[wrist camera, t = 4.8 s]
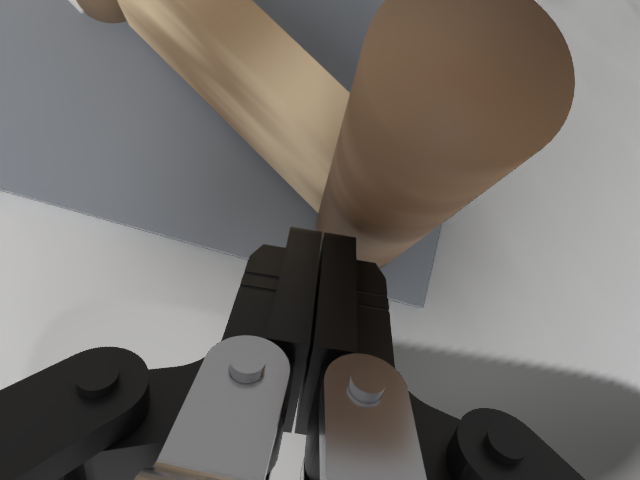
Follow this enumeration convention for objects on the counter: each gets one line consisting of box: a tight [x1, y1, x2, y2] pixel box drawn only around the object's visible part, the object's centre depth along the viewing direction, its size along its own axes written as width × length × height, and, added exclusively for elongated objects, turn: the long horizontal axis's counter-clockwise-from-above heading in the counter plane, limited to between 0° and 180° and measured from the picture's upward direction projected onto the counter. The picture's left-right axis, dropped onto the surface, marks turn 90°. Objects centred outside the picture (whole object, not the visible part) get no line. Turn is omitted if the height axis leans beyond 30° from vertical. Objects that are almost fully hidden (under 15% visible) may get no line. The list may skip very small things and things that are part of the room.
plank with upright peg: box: [117, 0, 575, 269], centre depth 11 cm, size 12×3×9 cm, turn 45°
